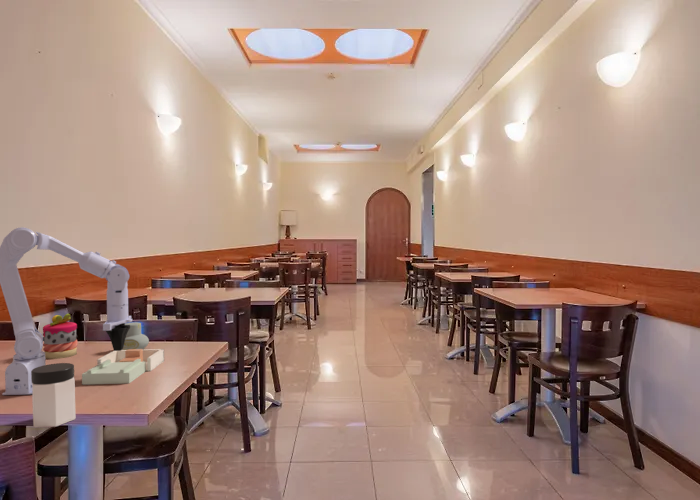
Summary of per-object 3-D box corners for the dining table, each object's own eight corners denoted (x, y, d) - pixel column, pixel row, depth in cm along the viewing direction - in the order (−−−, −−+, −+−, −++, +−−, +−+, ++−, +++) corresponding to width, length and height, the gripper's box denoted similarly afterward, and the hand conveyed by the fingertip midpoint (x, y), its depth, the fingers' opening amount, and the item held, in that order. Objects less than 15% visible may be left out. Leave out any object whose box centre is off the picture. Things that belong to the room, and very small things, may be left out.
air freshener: (113, 353, 165) (112, 326, 165) (121, 348, 174) (120, 322, 173) (144, 352, 167) (144, 325, 167) (151, 347, 175) (151, 321, 175)
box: (150, 371, 143) (150, 358, 143) (97, 372, 142) (97, 359, 142) (164, 360, 155) (164, 349, 155) (115, 362, 154) (115, 350, 154)
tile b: (139, 350, 149) (142, 348, 151) (125, 351, 148) (128, 349, 151) (139, 364, 149) (142, 362, 151) (125, 364, 149) (128, 362, 151)
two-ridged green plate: (129, 383, 131) (129, 369, 131) (82, 384, 130) (81, 370, 130) (145, 371, 143) (145, 358, 142) (102, 372, 142) (102, 359, 142)
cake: (35, 358, 160) (34, 315, 160) (61, 351, 170) (60, 310, 170) (60, 359, 158) (59, 316, 157) (84, 352, 168) (83, 311, 168)
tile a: (134, 368, 144) (134, 360, 144) (119, 368, 144) (119, 360, 144) (140, 364, 149) (139, 356, 149) (125, 365, 149) (125, 357, 148)
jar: (84, 412, 108) (82, 362, 108) (66, 426, 100) (64, 371, 100) (43, 414, 108) (42, 363, 107) (22, 428, 99) (20, 373, 99)
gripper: (120, 308, 131) (121, 355, 131) (140, 301, 146) (141, 344, 146) (95, 308, 131) (95, 356, 131) (118, 301, 145) (118, 344, 146)
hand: (118, 350), depth 139 cm, fingers closed
